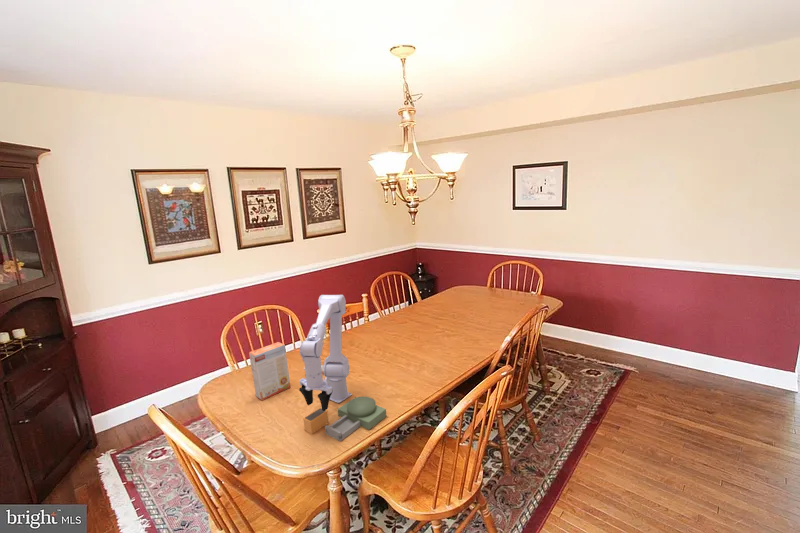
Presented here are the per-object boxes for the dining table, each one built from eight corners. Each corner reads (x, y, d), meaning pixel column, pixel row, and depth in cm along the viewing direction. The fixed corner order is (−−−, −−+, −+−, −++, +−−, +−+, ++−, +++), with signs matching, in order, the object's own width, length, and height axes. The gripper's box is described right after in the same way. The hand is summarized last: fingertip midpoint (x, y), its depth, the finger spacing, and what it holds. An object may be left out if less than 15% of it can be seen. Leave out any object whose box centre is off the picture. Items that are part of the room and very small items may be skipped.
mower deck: (317, 429, 140) (316, 417, 139) (357, 403, 156) (356, 391, 155) (349, 445, 130) (347, 432, 129) (387, 415, 146) (386, 403, 145)
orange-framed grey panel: (304, 430, 140) (303, 417, 139) (321, 419, 146) (320, 407, 145) (311, 434, 138) (310, 421, 137) (328, 422, 144) (327, 410, 143)
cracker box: (284, 383, 175) (278, 340, 171) (291, 388, 171) (285, 344, 167) (255, 396, 166) (248, 351, 161) (261, 401, 162) (254, 355, 157)
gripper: (291, 372, 138) (295, 406, 140) (320, 381, 130) (324, 417, 132) (305, 364, 143) (309, 397, 146) (334, 373, 136) (338, 407, 138)
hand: (317, 406), depth 140 cm, fingers open, 7 cm apart
